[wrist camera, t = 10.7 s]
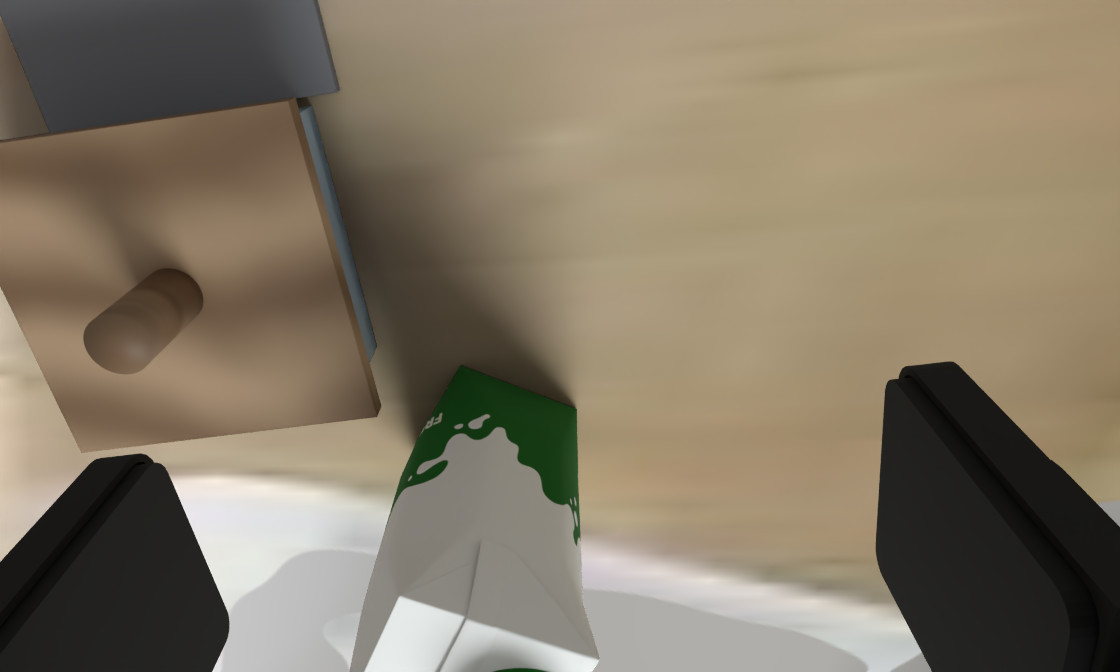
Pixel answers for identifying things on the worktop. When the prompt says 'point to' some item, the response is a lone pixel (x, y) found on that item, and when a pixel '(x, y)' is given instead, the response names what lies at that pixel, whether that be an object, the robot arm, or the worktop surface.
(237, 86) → the mat
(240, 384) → the lid
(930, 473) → the robot arm
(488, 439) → the milk carton
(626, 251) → the worktop surface
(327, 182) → the dish
